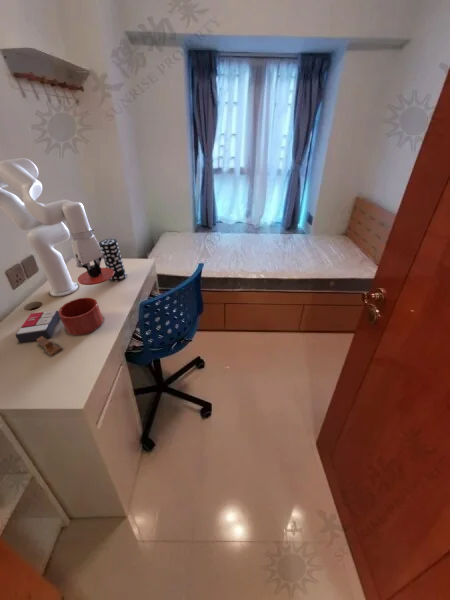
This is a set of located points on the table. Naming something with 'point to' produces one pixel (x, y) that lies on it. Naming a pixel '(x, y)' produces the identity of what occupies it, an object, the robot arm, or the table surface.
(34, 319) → the calculator
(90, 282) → the lid
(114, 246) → the white-spotted black cylinder
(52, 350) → the stepped wooden block pair
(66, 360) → the table surface
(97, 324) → the pot
